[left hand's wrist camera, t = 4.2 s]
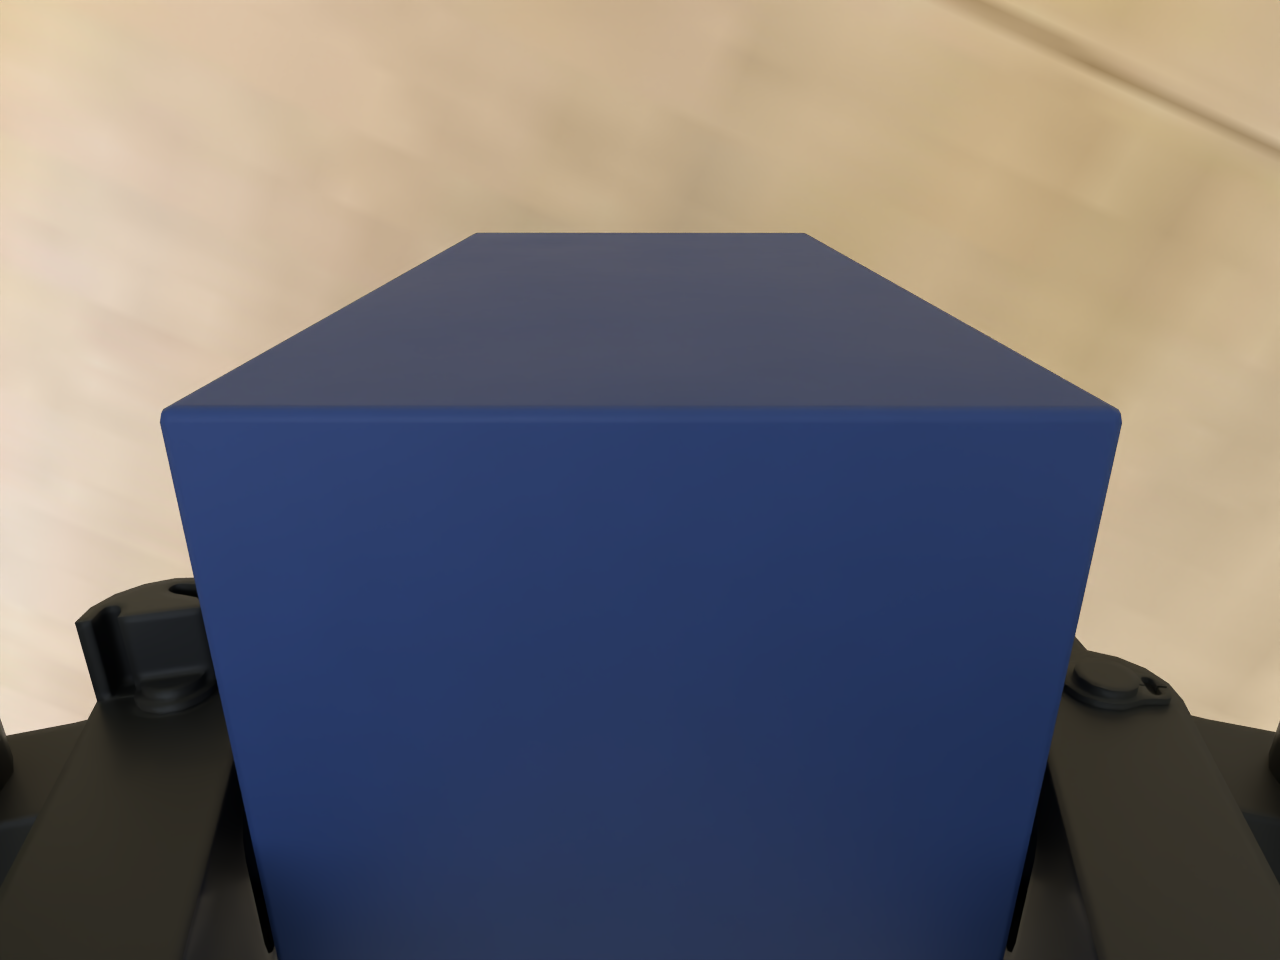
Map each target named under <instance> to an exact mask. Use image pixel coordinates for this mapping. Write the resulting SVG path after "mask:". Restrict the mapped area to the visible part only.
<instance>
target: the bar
mask: <svg viewBox="0 0 1280 960" xmlns="http://www.w3.org/2000/svg"><path fill="white" fill-rule="evenodd" d="M160 424H161V429H162V433H163V438H164V443H165V447H166V452H167V456H168V461H169V465H170V470H171V474H172V479H173V484H174V488H175V493H176V497H177V502H178V506H179V511H180V516H181V520H182V525H183V529H184V534H185V538H186V543H187V547H188V552H189V557H190V561H191V566H192V570H193V575H194V579H195V584H196V589H197V593H198V598H199V602H200V607H201V611H202V616H203V621H204V625H205V630H206V634H207V639H208V643H209V648H210V652H211V657H212V662H213V666H214V671H215V675H216V680H217V684H218V689H219V694H220V698H221V703H222V707H223V712H224V716H225V721H226V726H227V730H228V735H229V739H230V744H231V748H232V753H233V757H234V762H235V767H236V771H237V776H238V780H239V785H240V789H241V794H242V799H243V803H244V808H245V812H246V817H247V821H248V826H249V831H250V835H251V840H252V844H253V849H254V853H255V858H256V862H257V867H258V872H259V876H260V881H261V885H262V890H263V894H264V899H265V904H266V908H267V913H268V917H269V922H270V926H271V931H272V936H273V940H274V945H275V949H276V954H277V958H278V960H1003V958H1004V954H1005V949H1006V945H1007V940H1008V936H1009V931H1010V927H1011V922H1012V918H1013V913H1014V909H1015V904H1016V900H1017V895H1018V891H1019V886H1020V881H1021V877H1022V872H1023V868H1024V863H1025V859H1026V854H1027V850H1028V845H1029V841H1030V836H1031V832H1032V827H1033V823H1034V818H1035V814H1036V809H1037V805H1038V800H1039V796H1040V791H1041V787H1042V782H1043V777H1044V773H1045V768H1046V764H1047V759H1048V755H1049V750H1050V746H1051V741H1052V737H1053V732H1054V728H1055V723H1056V719H1057V714H1058V710H1059V705H1060V701H1061V696H1062V692H1063V687H1064V683H1065V678H1066V673H1067V669H1068V664H1069V660H1070V655H1071V651H1072V646H1073V642H1074V637H1075V633H1076V628H1077V624H1078V619H1079V615H1080V610H1081V606H1082V601H1083V597H1084V592H1085V588H1086V583H1087V579H1088V574H1089V570H1090V565H1091V560H1092V556H1093V551H1094V547H1095V542H1096V538H1097V533H1098V529H1099V524H1100V520H1101V515H1102V511H1103V506H1104V502H1105V497H1106V493H1107V488H1108V484H1109V479H1110V475H1111V470H1112V466H1113V461H1114V456H1115V452H1116V447H1117V443H1118V438H1119V434H1120V429H1121V425H1122V420H1121V414H1120V412H1119V410H1118V409H1117V408H1115V407H1113V406H1111V405H1109V404H1108V403H1106V402H1104V401H1102V400H1101V399H1099V398H1097V397H1095V396H1093V395H1092V394H1090V393H1088V392H1086V391H1085V390H1083V389H1081V388H1079V387H1077V386H1076V385H1074V384H1072V383H1070V382H1069V381H1067V380H1065V379H1063V378H1061V377H1060V376H1058V375H1056V374H1054V373H1053V372H1051V371H1049V370H1047V369H1045V368H1044V367H1042V366H1040V365H1038V364H1037V363H1035V362H1033V361H1031V360H1029V359H1028V358H1026V357H1024V356H1022V355H1021V354H1019V353H1017V352H1015V351H1013V350H1012V349H1010V348H1008V347H1006V346H1005V345H1003V344H1001V343H999V342H997V341H996V340H994V339H992V338H990V337H989V336H987V335H985V334H983V333H981V332H980V331H978V330H976V329H974V328H973V327H971V326H969V325H967V324H965V323H964V322H962V321H960V320H958V319H957V318H955V317H953V316H951V315H949V314H948V313H946V312H944V311H942V310H941V309H939V308H937V307H935V306H933V305H932V304H930V303H928V302H926V301H925V300H923V299H921V298H919V297H917V296H916V295H914V294H912V293H910V292H909V291H907V290H905V289H903V288H901V287H900V286H898V285H896V284H894V283H893V282H891V281H889V280H887V279H885V278H884V277H882V276H880V275H878V274H877V273H875V272H873V271H871V270H869V269H868V268H866V267H864V266H862V265H861V264H859V263H857V262H855V261H853V260H852V259H850V258H848V257H846V256H845V255H843V254H841V253H839V252H837V251H836V250H834V249H832V248H830V247H829V246H827V245H825V244H823V243H821V242H820V241H818V240H816V239H814V238H813V237H811V236H809V235H807V234H805V233H476V234H473V235H471V236H470V237H468V238H466V239H464V240H463V241H461V242H459V243H457V244H456V245H454V246H452V247H450V248H448V249H447V250H445V251H443V252H441V253H440V254H438V255H436V256H434V257H432V258H431V259H429V260H427V261H425V262H424V263H422V264H420V265H418V266H416V267H415V268H413V269H411V270H409V271H408V272H406V273H404V274H402V275H401V276H399V277H397V278H395V279H393V280H392V281H390V282H388V283H386V284H385V285H383V286H381V287H379V288H377V289H376V290H374V291H372V292H370V293H369V294H367V295H365V296H363V297H361V298H360V299H358V300H356V301H354V302H353V303H351V304H349V305H347V306H346V307H344V308H342V309H340V310H338V311H337V312H335V313H333V314H331V315H330V316H328V317H326V318H324V319H322V320H321V321H319V322H317V323H315V324H314V325H312V326H310V327H308V328H306V329H305V330H303V331H301V332H299V333H298V334H296V335H294V336H292V337H291V338H289V339H287V340H285V341H283V342H282V343H280V344H278V345H276V346H275V347H273V348H271V349H269V350H267V351H266V352H264V353H262V354H260V355H259V356H257V357H255V358H253V359H251V360H250V361H248V362H246V363H244V364H243V365H241V366H239V367H237V368H236V369H234V370H232V371H230V372H228V373H227V374H225V375H223V376H221V377H220V378H218V379H216V380H214V381H212V382H211V383H209V384H207V385H205V386H204V387H202V388H200V389H198V390H196V391H195V392H193V393H191V394H189V395H188V396H186V397H184V398H182V399H181V400H179V401H177V402H175V403H173V404H172V405H170V406H168V407H166V408H165V409H163V411H162V413H161V419H160Z"/></svg>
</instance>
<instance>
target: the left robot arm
mask: <svg viewBox="0 0 1280 960" xmlns="http://www.w3.org/2000/svg"><path fill="white" fill-rule="evenodd" d="M75 625H76V628H77V632H78V635H79V639H80V642H81V646H82V649H83V653H84V656H85V660H86V663H87V667H88V670H89V674H90V677H91V681H92V685H93V688H94V692H95V695H96V699H97V703H96V705H95V707H94V709H93V710H92V712H91V714H90V716H89V718H88V720H85V721H80V722H76V723H71V724H66V725H61V726H56V727H50V728H45V729H40V730H34V731H29V732H24V733H19V734H13V735H8V736H6V734H5V731H4V728H3V725H2V722H1V720H0V960H278V958H277V954H276V949H275V945H274V940H273V936H272V931H271V926H270V922H269V917H268V913H267V908H266V904H265V899H264V894H263V890H262V885H261V881H260V876H259V872H258V867H257V862H256V858H255V853H254V849H253V844H252V840H251V835H250V831H249V826H248V821H247V817H246V812H245V808H244V803H243V799H242V794H241V789H240V785H239V780H238V776H237V771H236V767H235V762H234V757H233V753H232V748H231V744H230V739H229V735H228V730H227V726H226V721H225V716H224V712H223V707H222V703H221V698H220V694H219V689H218V684H217V680H216V675H215V671H214V666H213V662H212V657H211V652H210V648H209V643H208V639H207V634H206V630H205V625H204V621H203V616H202V611H201V607H200V602H199V598H198V593H197V589H196V584H195V579H194V578H174V579H169V580H164V581H158V582H153V583H148V584H144V585H141V586H138V587H135V588H132V589H129V590H126V591H123V592H120V593H117V594H115V595H113V596H111V597H109V598H107V599H106V600H104V601H102V602H100V603H98V604H96V605H95V606H93V607H91V608H90V609H89V610H88V611H87V612H86V613H84V614H83V615H82V616H81V617H80V618H79V619H78V620H77V621H76V622H75ZM1003 960H1280V722H1279V725H1278V728H1277V731H1276V732H1272V731H1267V730H1262V729H1256V728H1251V727H1246V726H1240V725H1235V724H1230V723H1224V722H1219V721H1214V720H1208V719H1204V718H1200V717H1196V716H1192V715H1190V713H1189V711H1188V709H1187V707H1186V705H1185V703H1184V701H1183V700H1182V699H1181V697H1180V696H1179V695H1178V694H1177V693H1176V692H1175V690H1174V689H1173V688H1172V687H1171V686H1170V685H1169V683H1167V682H1166V681H1164V680H1162V679H1161V678H1159V677H1158V676H1156V675H1155V674H1153V673H1152V672H1150V671H1149V670H1147V669H1146V668H1143V667H1141V666H1138V665H1136V664H1133V663H1131V662H1128V661H1126V660H1123V659H1121V658H1118V657H1115V656H1110V655H1106V654H1101V653H1097V652H1092V651H1087V650H1086V648H1085V647H1084V646H1083V645H1082V644H1081V643H1080V642H1079V640H1078V639H1077V638H1076V637H1074V642H1073V646H1072V651H1071V655H1070V660H1069V664H1068V669H1067V673H1066V678H1065V683H1064V687H1063V692H1062V696H1061V701H1060V705H1059V710H1058V714H1057V719H1056V723H1055V728H1054V732H1053V737H1052V741H1051V746H1050V750H1049V755H1048V759H1047V764H1046V768H1045V773H1044V777H1043V782H1042V787H1041V791H1040V796H1039V800H1038V805H1037V809H1036V814H1035V818H1034V823H1033V827H1032V832H1031V836H1030V841H1029V845H1028V850H1027V854H1026V859H1025V863H1024V868H1023V872H1022V877H1021V881H1020V886H1019V891H1018V895H1017V900H1016V904H1015V909H1014V913H1013V918H1012V922H1011V927H1010V931H1009V936H1008V940H1007V945H1006V949H1005V954H1004V958H1003Z"/></svg>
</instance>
